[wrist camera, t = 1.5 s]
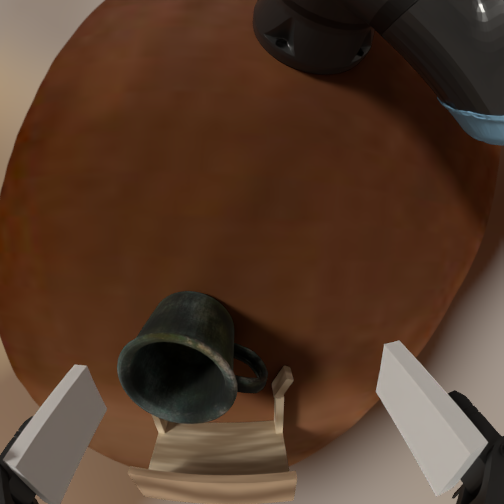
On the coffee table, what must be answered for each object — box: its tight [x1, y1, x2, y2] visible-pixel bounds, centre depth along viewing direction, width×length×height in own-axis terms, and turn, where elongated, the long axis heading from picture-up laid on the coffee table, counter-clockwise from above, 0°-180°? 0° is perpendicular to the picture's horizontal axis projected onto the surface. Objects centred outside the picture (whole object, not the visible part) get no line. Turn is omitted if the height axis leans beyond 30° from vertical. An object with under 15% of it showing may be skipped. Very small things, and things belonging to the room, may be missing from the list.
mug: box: [117, 291, 268, 424], centre depth 28 cm, size 11×15×12 cm
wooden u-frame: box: [128, 366, 297, 504], centre depth 29 cm, size 13×21×15 cm, turn 92°
